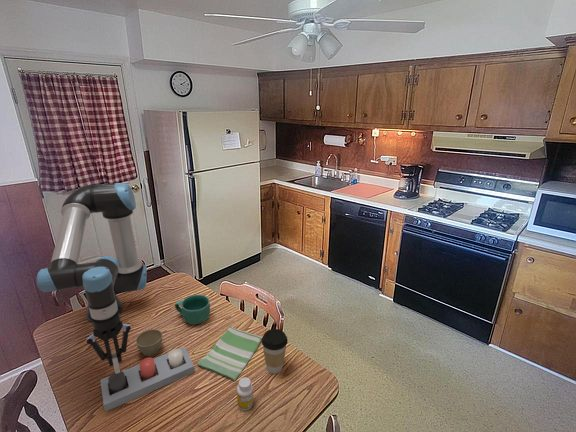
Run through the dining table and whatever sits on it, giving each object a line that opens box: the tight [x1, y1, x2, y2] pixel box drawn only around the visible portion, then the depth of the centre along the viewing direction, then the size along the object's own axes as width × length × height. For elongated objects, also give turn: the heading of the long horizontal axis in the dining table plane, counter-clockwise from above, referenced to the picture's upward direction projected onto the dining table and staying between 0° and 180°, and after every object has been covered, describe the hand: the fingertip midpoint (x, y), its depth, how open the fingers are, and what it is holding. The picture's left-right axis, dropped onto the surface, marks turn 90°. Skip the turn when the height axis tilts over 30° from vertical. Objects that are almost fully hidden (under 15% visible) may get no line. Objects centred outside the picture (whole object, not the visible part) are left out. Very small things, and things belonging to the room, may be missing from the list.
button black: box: [108, 370, 128, 395], centre depth 109 cm, size 5×5×6 cm
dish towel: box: [196, 326, 263, 382], centre depth 128 cm, size 18×23×3 cm
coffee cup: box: [261, 328, 288, 375], centre depth 119 cm, size 10×10×15 cm
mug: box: [174, 294, 211, 325], centre depth 147 cm, size 17×13×10 cm
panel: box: [100, 346, 196, 412], centre depth 115 cm, size 12×30×3 cm, turn 124°
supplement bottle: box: [236, 377, 254, 411], centre depth 105 cm, size 5×5×10 cm
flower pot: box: [135, 328, 163, 357], centre depth 127 cm, size 10×10×7 cm
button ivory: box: [168, 348, 185, 370], centre depth 120 cm, size 5×5×6 cm
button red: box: [138, 357, 157, 381], centre depth 114 cm, size 5×5×6 cm
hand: (117, 370), depth 108 cm, fingers closed
